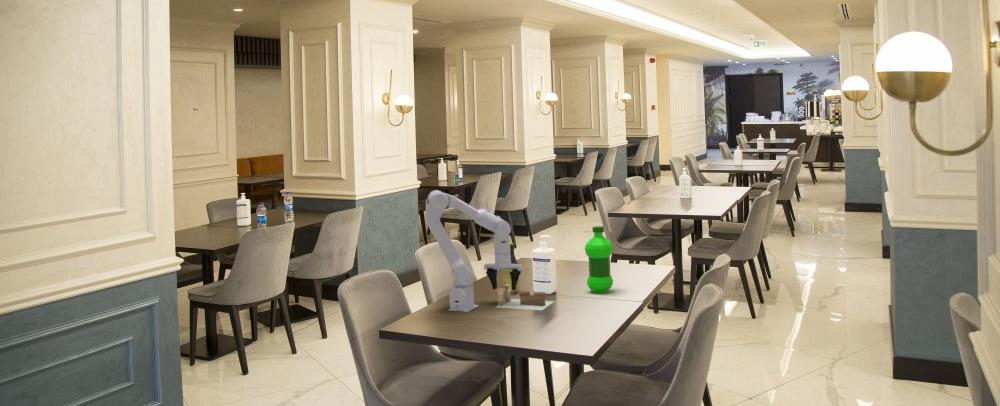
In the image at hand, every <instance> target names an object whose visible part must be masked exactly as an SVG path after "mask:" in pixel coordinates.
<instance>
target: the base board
mask: <svg viewBox="0 0 1000 406" xmlns="http://www.w3.org/2000/svg"><path fill="white" fill-rule="evenodd" d="M555 302H556V301H554V300H545V306H535V305H520V298H511V301H510V302H505V303H506V304H505V305H503V306H498V305H497V306H495V308H499V309H501V308H502V309H515V310H533V311H543V310H545V309H546V308H547V307H549V306H551V305H552V304H554V303H555Z"/></svg>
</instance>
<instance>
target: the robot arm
mask: <svg viewBox="0 0 1000 406" xmlns="http://www.w3.org/2000/svg"><path fill="white" fill-rule="evenodd" d="M446 208H448V209H456V210H459V211H461V212H462V213H465V214H466V215H469V216H470V217H472V218H473V220H474V223H475V224H478V225H479V226H481V227H483V228H484V229H486V230H488V231H490V232H492V233H493V239H494V240H493V247H494V250H493V251H494V263H493V262H492V263H491V262H490V263H484V264H483V270H485V274H486V276H487V278H488V279H489V281H490V283H491V287H492V290H493V291H494V290H497V289H498V281H497V280H498V279H497V277H498V276H497V274H498V270H499V271H500V270H501V271H502V270H512V271H511V272H510V276H511V282H512V290H516V285H517V281H518V280H519V278H520V276H521V273H522V271H523V270H524V268H523V264H521V263H520V264H519V263H518V264H512V263H511V256H510V243H511V240H510V233H511V232H512V227H511V226H510V225H511V224H510V223H509V221H506V220H504V219H503V218H501V216H500V215H495V214H493V213H492V212H490V210H489V209H488V208H485V209H484V208H480V209H477V208H475V207H474V206H471V205H470V204H469V203H466V202H465V201H463V200H462V199H459V198H458V197H456V196H454V195H451V194H450V193H446V192H443V191H441V190H438V189H435V190H432V191H430V193H428V195H427V198H426V200H425V212H424V213H425V216H424V221H425V223H426V225H427V227H428V228H429V230H430V232H431V234H432V235H433V237H434V239H435V241H436V243H437V244H438V246H439V248H440V250H441V251H442V254H443V255H444V257H445V259H446V260H447V262H448V264H449V266H450V268H451V275H452V277H453V279H454V281H453V282H452V285H453V286H452V289H451V290H450V292H449V309H448V311H452V312H467V313H468V312H469V311H472V310H473V309H475V308H477V307H479V304H475V297H474V296H475V295H474V292H475V291H474V282H473V281H474V272H473V271H472V270H471V269H470V268H469V267H468V266H467V265H466V264H465V262H464V261H463V259H462V258H461V256H460V254H459V253H458V251H457V249H456V247H455V245H454V244H453V242H452V240H451V238H450V237H449V235H448V233H447V231H446V229H445V227H444V226H443V223H442V222H441V217H442V215H443V213H444V211H445V210H446Z"/></svg>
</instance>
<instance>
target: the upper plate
mask: <svg viewBox="0 0 1000 406" xmlns="http://www.w3.org/2000/svg"><path fill="white" fill-rule="evenodd" d="M496 290H497V293H496V294H497V306H503V305H505V304H506V303H505V302H510V301H511V299H512V295H511V285H508V284H506V285H504V286H503V285H502V286H501V287H499V288H496Z"/></svg>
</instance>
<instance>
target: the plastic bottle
mask: <svg viewBox="0 0 1000 406" xmlns="http://www.w3.org/2000/svg"><path fill="white" fill-rule="evenodd" d="M591 227H592V233H593V235H594V236H593V237H592V238H590V240H588V241H587V242H586V243H585V246H584V252H585V255H586V256H587V257H588V273H589V274H588V277H587V280H586V285H587V288H589V290H591V292H593V293H594V294H606V293H608V291H610V290H611V288H612V286H613V284H614V279H613V277H612V275H611V261H610V260H611V259H610V257H611V255H612V254H613V250H614V246H613V244H612V242H611V241H610V240H609V239H607V238H606V237H605V236H604V234H603V233H604V232H605V226H599V225H598V226H591Z"/></svg>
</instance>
